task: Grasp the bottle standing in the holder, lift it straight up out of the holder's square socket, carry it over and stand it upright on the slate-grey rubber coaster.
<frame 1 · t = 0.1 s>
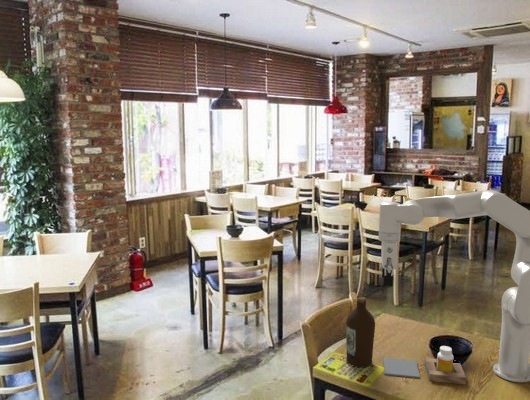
hand: (387, 281, 172), 31 cm above the table, tool pointing down, fingers open, 9 cm apart
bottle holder: (444, 373, 168), on the table
supplement bottle: (444, 374, 168), resting in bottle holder
olive oil: (358, 362, 177), on the table
slate coaster: (400, 368, 172), on the table
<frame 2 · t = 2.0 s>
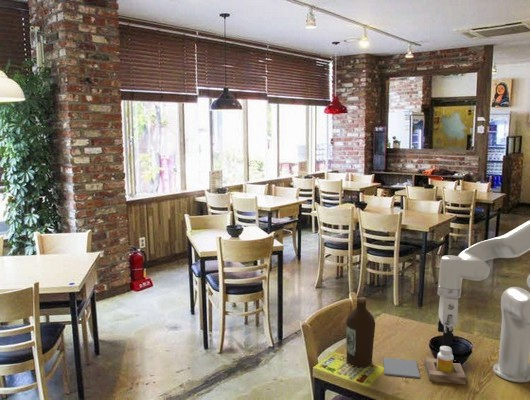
hand: (444, 337, 166), 14 cm above the table, tool pointing down, fingers open, 9 cm apart
nothing on the table moved.
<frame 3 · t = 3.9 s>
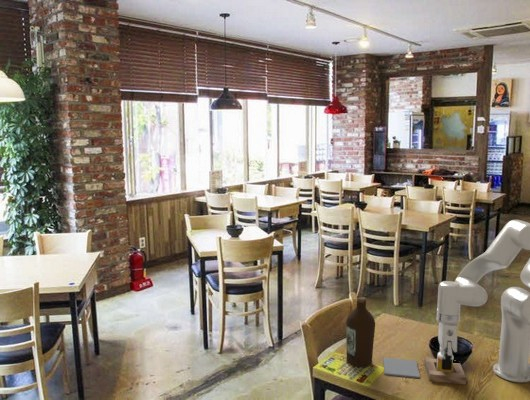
hand: (444, 364, 167), 3 cm above the table, tool pointing down, fingers closed on supplement bottle, 5 cm apart
supplement bottle: (444, 374, 168), resting in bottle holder, touching gripper
everything else where it was.
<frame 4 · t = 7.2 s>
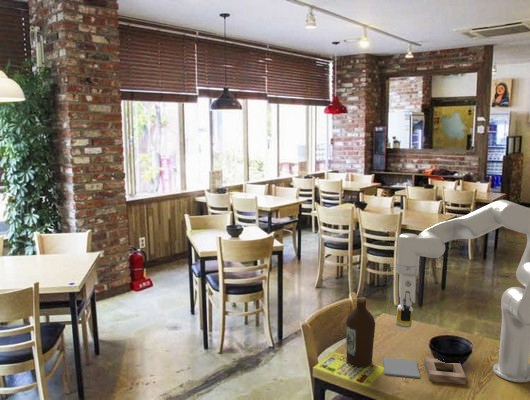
hand: (404, 316, 169), 20 cm above the table, tool pointing down, fingers closed on supplement bottle, 5 cm apart
supplement bottle: (403, 326, 169), point 16 cm above the table, touching gripper
everything else where it was.
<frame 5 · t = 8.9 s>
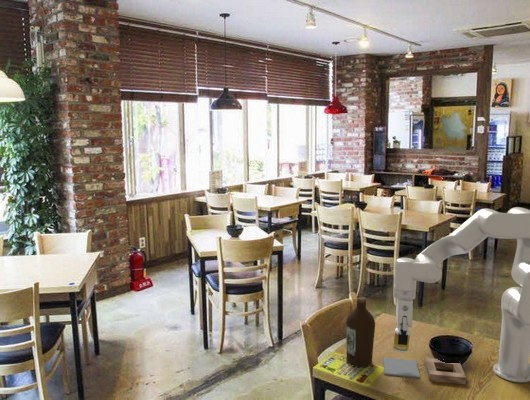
hand: (401, 340, 170), 11 cm above the table, tool pointing down, fingers closed on supplement bottle, 5 cm apart
supplement bottle: (400, 349, 171), point 7 cm above the table, touching gripper
everything else where it was.
when the fingers open (5 cm above the table, at t = 10.4 s): supplement bottle drops 1 cm, resting on slate coaster.
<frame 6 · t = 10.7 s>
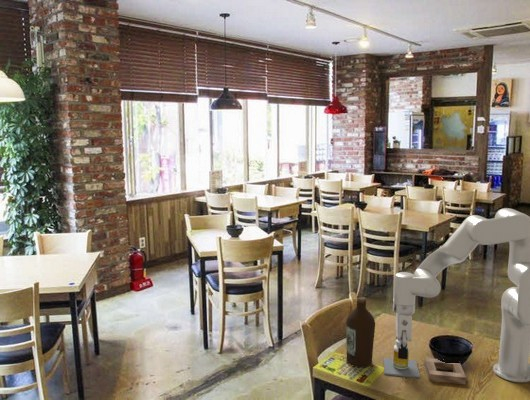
hand: (401, 352, 171), 6 cm above the table, tool pointing down, fingers open, 8 cm apart
supplement bottle: (400, 366, 172), resting on slate coaster
everything else where it was.
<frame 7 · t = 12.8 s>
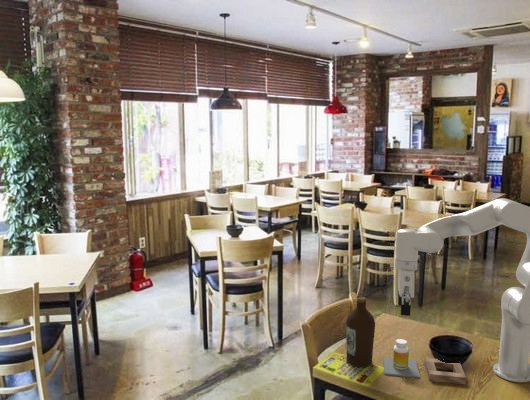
hand: (404, 309, 169), 22 cm above the table, tool pointing down, fingers open, 9 cm apart
nothing on the table moved.
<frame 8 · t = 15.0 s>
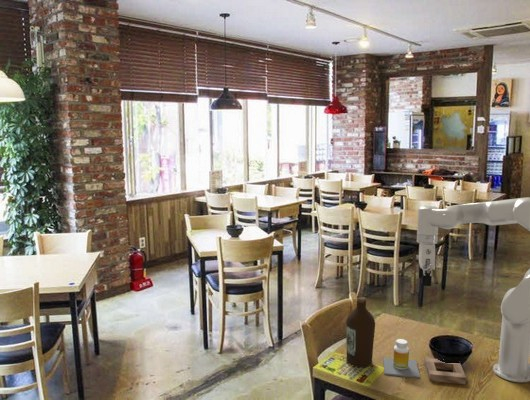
hand: (424, 281, 181), 28 cm above the table, tool pointing down, fingers open, 9 cm apart
nothing on the table moved.
at the end: supplement bottle inside the target area on the slate coaster (0.2 cm from its centre), point 0.4 cm above the slate coaster's base; supplement bottle tilted 0°; the gripper is holding nothing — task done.
